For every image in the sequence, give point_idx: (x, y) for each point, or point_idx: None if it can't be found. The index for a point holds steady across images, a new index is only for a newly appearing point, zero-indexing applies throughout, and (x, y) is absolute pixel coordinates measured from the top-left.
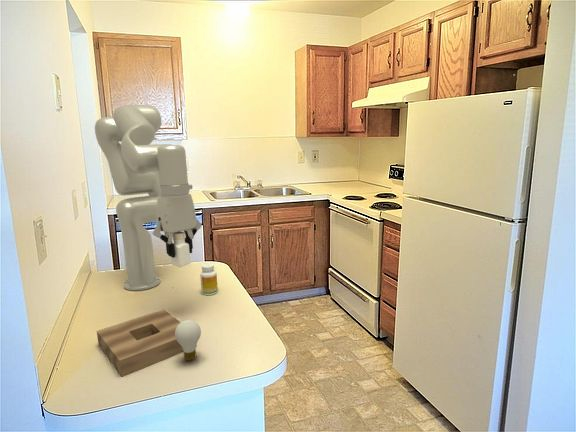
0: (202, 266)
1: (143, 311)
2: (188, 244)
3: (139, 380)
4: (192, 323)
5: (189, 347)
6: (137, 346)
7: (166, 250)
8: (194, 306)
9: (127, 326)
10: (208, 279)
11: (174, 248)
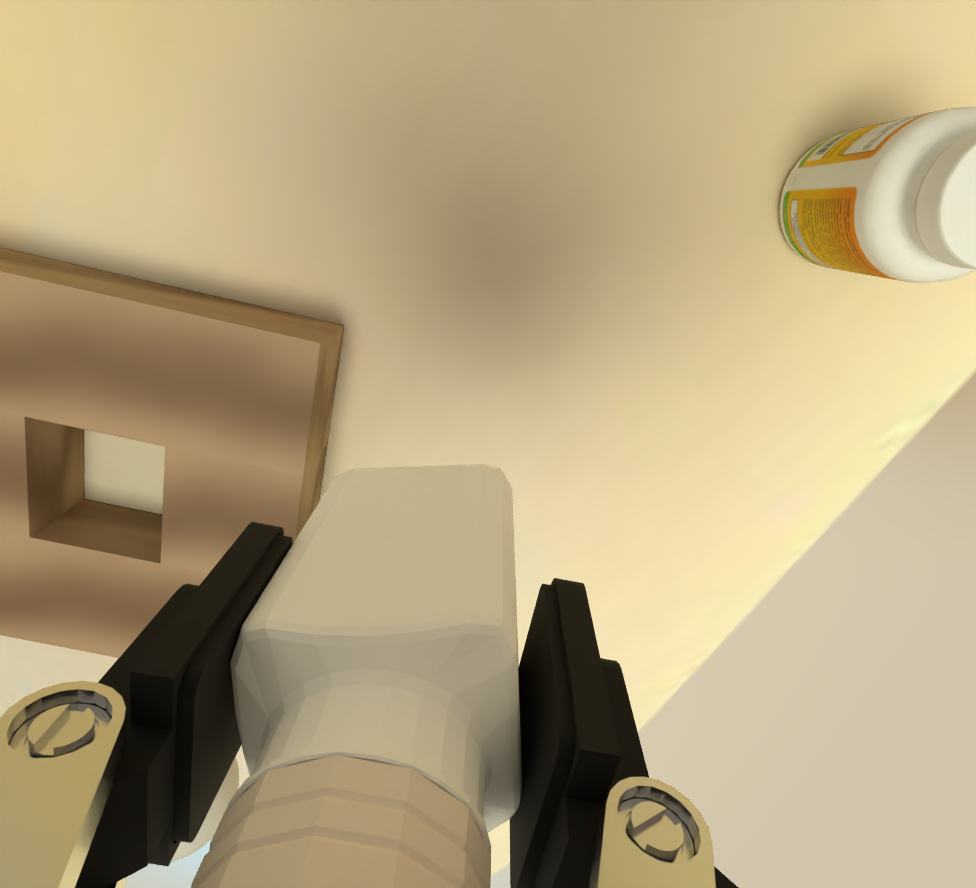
0: (957, 173)
1: (333, 31)
2: (499, 824)
3: (24, 640)
4: None
5: None
6: (13, 583)
7: (164, 606)
8: (596, 299)
9: (38, 355)
10: (857, 260)
11: (227, 769)
